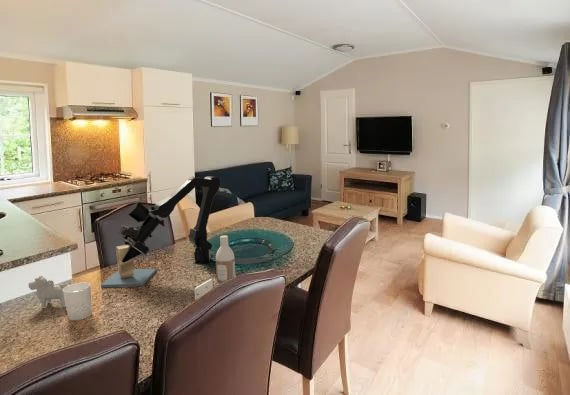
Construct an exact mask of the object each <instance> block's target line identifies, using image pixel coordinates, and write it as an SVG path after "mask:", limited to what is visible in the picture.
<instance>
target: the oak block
mask: <svg viewBox="0 0 570 395" xmlns="http://www.w3.org/2000/svg"><path fill="white" fill-rule="evenodd" d="M128 250H129V245H124V244H122V245H118V246H115V254H116V261H117V262H116V263H117V271H118V272H119V276H120V277H122V278H125V277H129V276H133V275H134V270H133V269H134V263H133V258H132V259H130V260H128V261H126V262H125V263H123V262H122V260H123V258H124V256H125V255H126V253H127V252H128Z"/></svg>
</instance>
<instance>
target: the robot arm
mask: <svg viewBox="0 0 570 395" xmlns="http://www.w3.org/2000/svg"><path fill="white" fill-rule="evenodd" d="M221 185H222V182H221V181H220V179H219V178H218V177H217V176H211V175H208V176H205V177H199V176H198V177H197V176H190V177H189V178H188V179H187V180H186V181H185V182H184V183H183V184H181V186H179V187H178V188H177V189H176V190H175V191H174V192H173V193H171V194H170V195H169V196H168V197H166V198H164V199H160V201H158V202H156V203H155V204H154V205H153V206H149V207H146V206H144V205H143V204H142V203H141V202H140V201H136V202H135V203H134V204H132V205H131V206H130V207H129V208H128V209H127V211H126V213H125V214H126V215H127V216H128V217H129V218H131V219H133V220H134V221H135V222H136V223H140V225H139V226H138V225H136V227H133V226H131V225H129V226H127V225H123V224H121V226H120V228H119V231H118V233H119V234H120V235H121V238H123V239H122V242H123V245H129V250H128V252H127V253H126V255H125V256H124V258H123V260H122V262H123V263H125V262H126V261H128V260H130V259H132V260H133V258H136V257H139V255H147V254H148V253H149V252H150V247H148V246H147V245H146V242H147V240H148V239H150V238H152V237H153V235H152V234H153V233H154V232H155V231H156V229H158V227H159V226H161V227H165V226H166V225H165V220H164V219H166V218H168V217H169V216H170V215H171V214H172V212H173V211H174V210H175V208H176V206H177V204H179V203H180V202H181V201H182V200H183V199H184V198H185V197H186V196H188V194H190V193H191V192H192V191H193V190H195V188H196V187H202V188H201V189H202V200H201V203H200V208H199V211H198V215H197V220H196V224H195V225H194V227H193V228H190V229H189V234H188V236H187V237H188V241H189V243H190V244H191V245H193V247H194V248H195V249H194V252H193V255H194V256H193V257H194V264H210V262H211V261H210V258H212V256H211V255H212V254H211V250H212V248H213V243H210V242H209V241H208V231H207V226H208V222H209V218H210V214H211V210H212V205H213V201H214V198H215V197H216V195H217V193H218V191H219V190H220V187H221ZM152 215H153V216H152ZM160 218H161V219H160Z"/></svg>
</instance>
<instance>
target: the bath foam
mask: <svg viewBox="0 0 570 395" xmlns="http://www.w3.org/2000/svg"><path fill="white" fill-rule="evenodd" d="M219 242H220V247H219V248H218V249H217V251H216V254H215V268H216V269H215V271H216V273H215V274H216V284H217V285H219V284H221V283H223V282H225V281H227V280H229V279H231V278H233V277H235V278H236V265H235V264H236V263H235V260H236V259H235V254H234V251H233V250H232V248H231V247H230V246H229V236H228V235H225V234H224V235H221V236H219Z"/></svg>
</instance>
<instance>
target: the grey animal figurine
mask: <svg viewBox="0 0 570 395" xmlns="http://www.w3.org/2000/svg"><path fill="white" fill-rule="evenodd" d="M54 282H55V281H54V280H52V279H49V280H47V278H46V277H44V276H43V275H39V276H38V277H36V278H34V280H33V281H29V282H28V285H27V286H28V288H29V290H31V291H35V290H36V292H35V293H36V294H35V295H36V297H37V299H38V300H40V303H41V307H40V309H41V308H44V307H47V303H50V302H51V303H52V300H59V301H60V307H64V308H65V307H66V305H65V301H64V295H63V288H64V287H66V286H68V285H67V284H64V283H59V284H58V285H56V284H55V283H54ZM51 303H50V304H51Z"/></svg>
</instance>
